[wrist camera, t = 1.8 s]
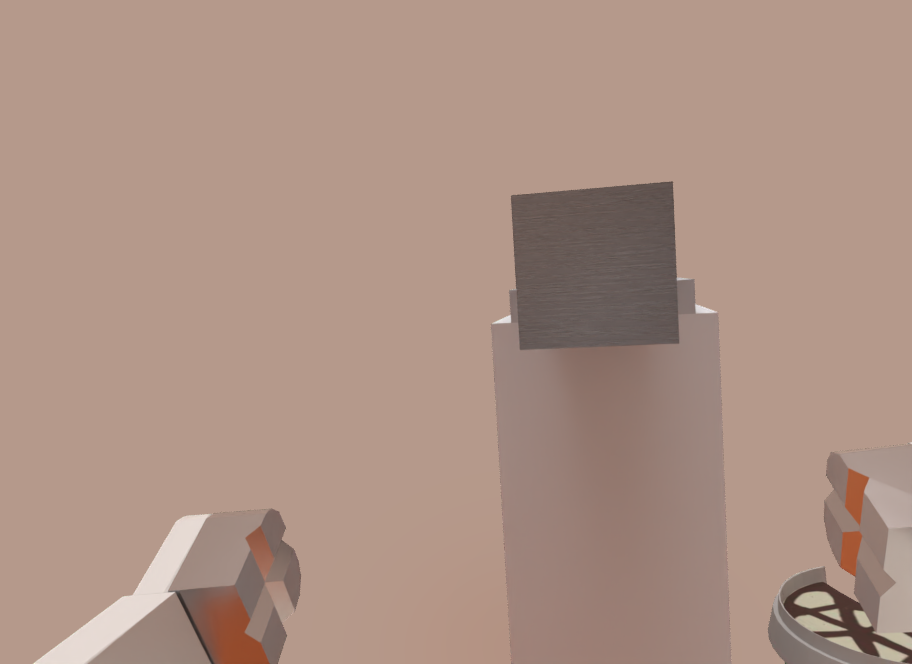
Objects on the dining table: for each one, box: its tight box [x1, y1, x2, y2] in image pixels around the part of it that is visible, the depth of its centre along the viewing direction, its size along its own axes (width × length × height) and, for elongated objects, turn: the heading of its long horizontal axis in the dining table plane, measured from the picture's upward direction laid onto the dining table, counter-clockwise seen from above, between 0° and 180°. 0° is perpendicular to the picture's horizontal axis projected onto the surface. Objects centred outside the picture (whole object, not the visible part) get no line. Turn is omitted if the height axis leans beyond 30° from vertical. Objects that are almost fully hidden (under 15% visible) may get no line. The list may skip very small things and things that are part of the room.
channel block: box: [491, 278, 731, 664], centre depth 34 cm, size 8×16×27 cm, turn 168°
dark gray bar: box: [511, 182, 679, 350], centre depth 28 cm, size 4×24×4 cm, turn 168°
